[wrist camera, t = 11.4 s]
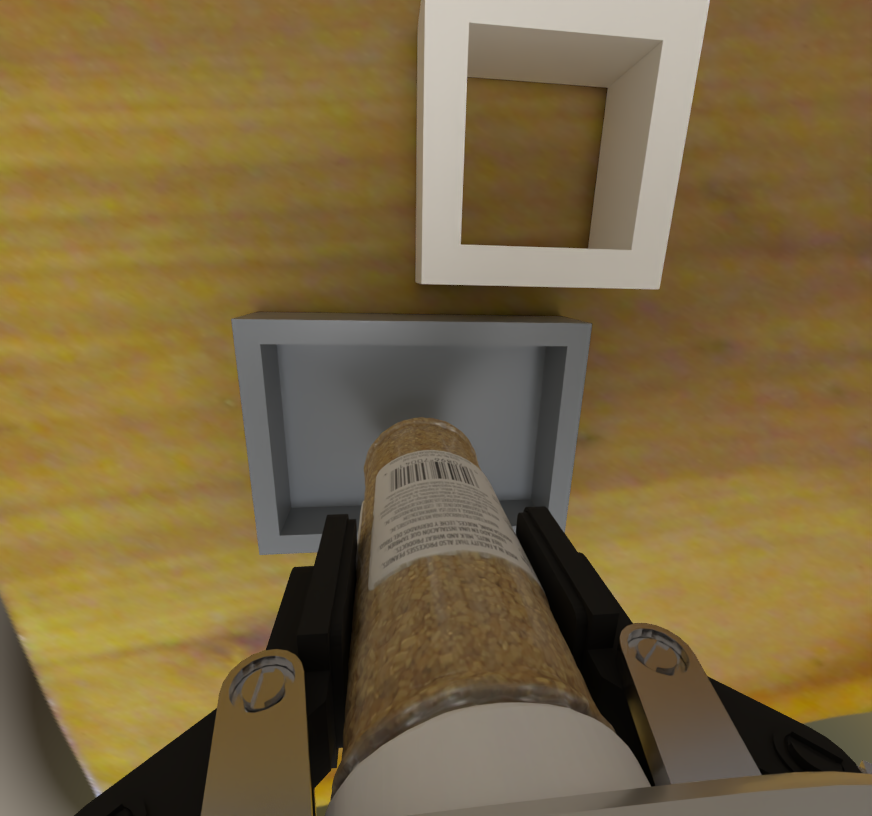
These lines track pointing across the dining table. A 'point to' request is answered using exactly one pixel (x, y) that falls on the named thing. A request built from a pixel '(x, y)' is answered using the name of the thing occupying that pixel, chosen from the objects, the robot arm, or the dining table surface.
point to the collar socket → (620, 144)
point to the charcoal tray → (402, 406)
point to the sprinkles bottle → (457, 650)
